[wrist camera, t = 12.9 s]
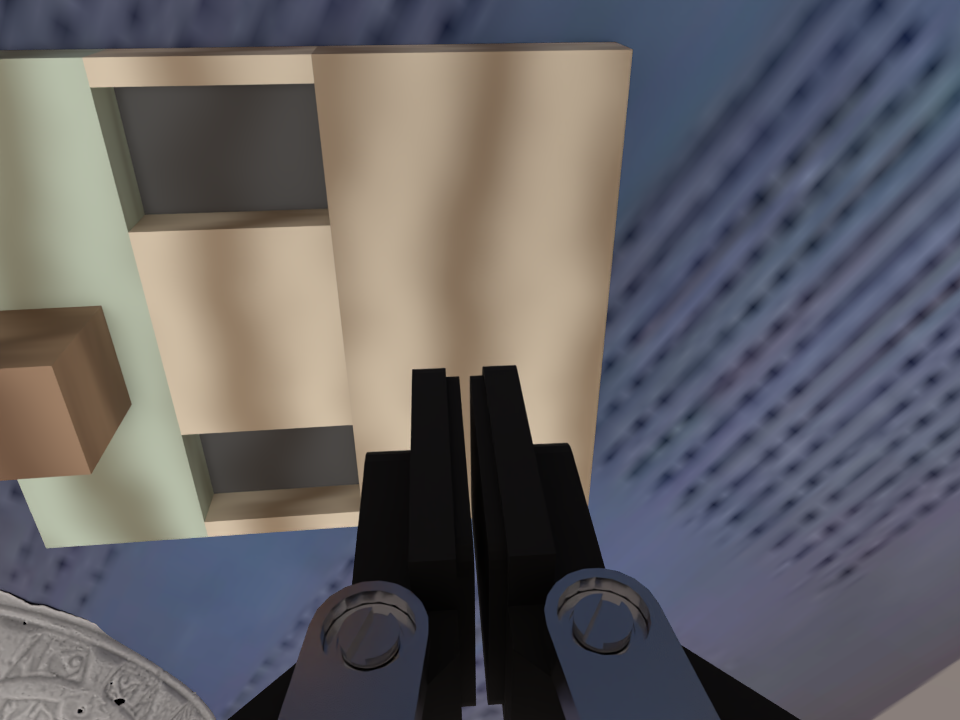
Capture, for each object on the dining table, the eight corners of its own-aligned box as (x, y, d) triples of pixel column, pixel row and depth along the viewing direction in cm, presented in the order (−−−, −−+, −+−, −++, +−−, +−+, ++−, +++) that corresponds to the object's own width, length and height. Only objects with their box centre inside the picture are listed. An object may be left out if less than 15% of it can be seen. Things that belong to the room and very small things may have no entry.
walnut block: (101, 305, 30) (51, 365, 26) (131, 404, 32) (91, 474, 28) (-24, 311, 29) (-96, 374, 25) (16, 411, 32) (-43, 483, 28)
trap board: (615, 41, 29) (632, 49, 27) (577, 480, 41) (587, 510, 38) (-115, 51, 27) (-160, 61, 25) (66, 514, 38) (46, 548, 36)
